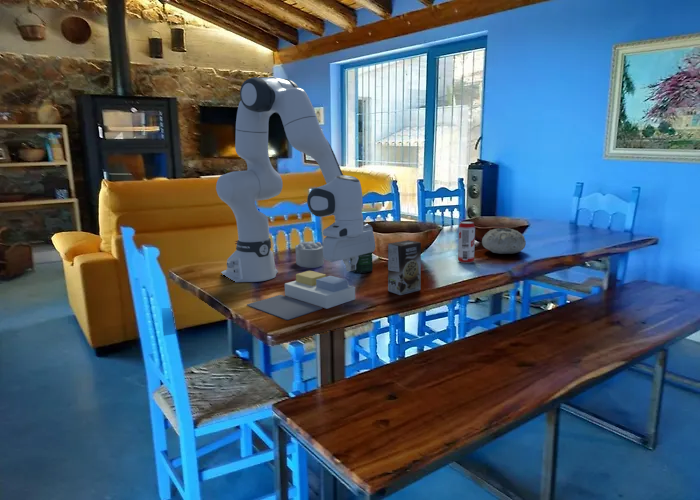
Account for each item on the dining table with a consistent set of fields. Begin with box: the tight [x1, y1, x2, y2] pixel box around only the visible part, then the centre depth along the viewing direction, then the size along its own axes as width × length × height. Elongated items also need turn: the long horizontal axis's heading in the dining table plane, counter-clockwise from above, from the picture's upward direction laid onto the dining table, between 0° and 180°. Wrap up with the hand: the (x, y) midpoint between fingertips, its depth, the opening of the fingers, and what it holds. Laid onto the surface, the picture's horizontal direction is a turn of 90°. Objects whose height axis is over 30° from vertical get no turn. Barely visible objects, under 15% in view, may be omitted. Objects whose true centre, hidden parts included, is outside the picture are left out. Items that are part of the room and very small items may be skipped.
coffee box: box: [387, 239, 422, 296], centre depth 166 cm, size 9×6×16 cm
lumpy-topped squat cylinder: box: [294, 241, 325, 269], centre depth 205 cm, size 10×13×9 cm
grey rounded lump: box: [481, 227, 527, 255], centre depth 216 cm, size 18×18×10 cm
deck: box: [284, 280, 356, 309], centre depth 162 cm, size 20×12×4 cm, turn 45°
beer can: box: [457, 220, 476, 264], centre depth 201 cm, size 6×6×16 cm
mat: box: [246, 294, 323, 321], centre depth 154 cm, size 20×13×1 cm, turn 45°
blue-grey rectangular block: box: [316, 275, 349, 292], centre depth 159 cm, size 8×6×2 cm
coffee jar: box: [349, 221, 374, 274], centre depth 192 cm, size 10×8×19 cm
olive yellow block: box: [295, 270, 327, 286], centre depth 166 cm, size 8×6×2 cm
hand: (351, 270), depth 163 cm, fingers closed
